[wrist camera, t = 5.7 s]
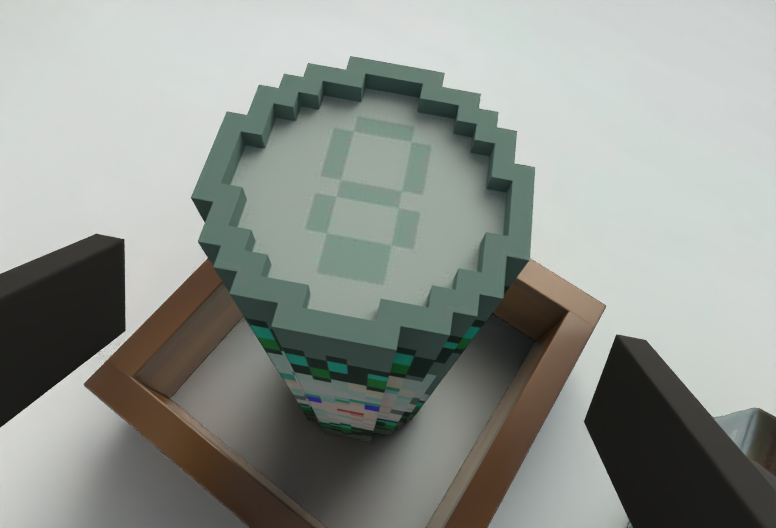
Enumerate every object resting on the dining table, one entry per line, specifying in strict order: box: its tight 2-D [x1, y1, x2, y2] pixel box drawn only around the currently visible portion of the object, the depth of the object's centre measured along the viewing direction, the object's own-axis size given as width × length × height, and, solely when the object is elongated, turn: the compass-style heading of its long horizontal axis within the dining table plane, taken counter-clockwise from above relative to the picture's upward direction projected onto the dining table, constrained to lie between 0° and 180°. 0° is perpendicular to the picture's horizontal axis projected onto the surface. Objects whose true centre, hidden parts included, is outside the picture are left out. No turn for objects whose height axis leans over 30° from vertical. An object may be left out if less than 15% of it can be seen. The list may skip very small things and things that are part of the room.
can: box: [191, 56, 535, 442], centre depth 16 cm, size 6×6×15 cm
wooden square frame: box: [84, 259, 606, 528], centre depth 21 cm, size 14×14×4 cm
